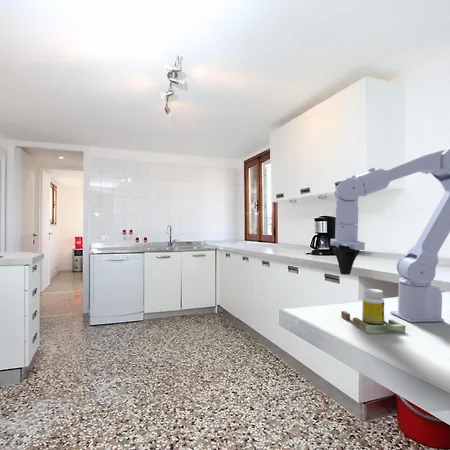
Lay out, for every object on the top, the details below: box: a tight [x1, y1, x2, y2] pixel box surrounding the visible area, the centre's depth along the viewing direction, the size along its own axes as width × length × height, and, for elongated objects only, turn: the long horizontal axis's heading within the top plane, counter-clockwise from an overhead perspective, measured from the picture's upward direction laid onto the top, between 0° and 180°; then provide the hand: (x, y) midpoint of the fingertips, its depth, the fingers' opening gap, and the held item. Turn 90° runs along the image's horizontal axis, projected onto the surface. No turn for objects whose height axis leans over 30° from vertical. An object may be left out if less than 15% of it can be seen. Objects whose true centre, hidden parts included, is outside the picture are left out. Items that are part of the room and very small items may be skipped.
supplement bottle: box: [361, 288, 385, 325], centre depth 76 cm, size 5×5×8 cm
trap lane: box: [340, 310, 406, 335], centre depth 77 cm, size 9×12×2 cm
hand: (345, 274), depth 86 cm, fingers closed
